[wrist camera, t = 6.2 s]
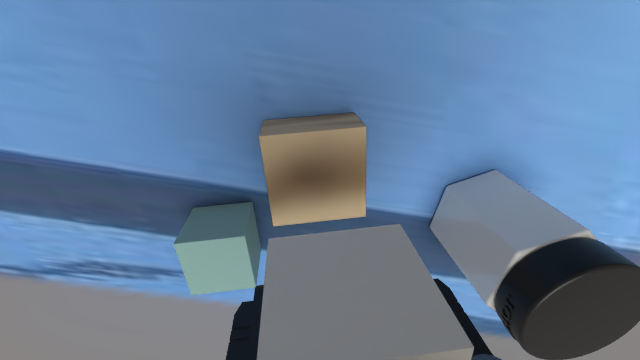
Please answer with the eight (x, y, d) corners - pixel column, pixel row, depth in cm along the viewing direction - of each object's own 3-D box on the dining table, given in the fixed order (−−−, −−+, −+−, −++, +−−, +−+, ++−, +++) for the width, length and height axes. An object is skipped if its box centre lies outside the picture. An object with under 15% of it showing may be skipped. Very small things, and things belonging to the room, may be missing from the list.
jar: (411, 215, 28) (489, 328, 17) (481, 152, 26) (621, 237, 15) (466, 259, 31) (560, 378, 20) (532, 207, 29) (678, 309, 18)
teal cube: (193, 207, 25) (173, 244, 21) (252, 201, 26) (244, 236, 21) (207, 253, 27) (191, 295, 23) (261, 247, 28) (255, 287, 23)
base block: (263, 120, 22) (258, 136, 19) (354, 112, 23) (366, 126, 19) (275, 199, 26) (273, 226, 22) (354, 191, 26) (365, 216, 22)
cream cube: (268, 238, 11) (254, 378, 6) (399, 224, 11) (473, 347, 7) (284, 329, 13) (282, 480, 9) (393, 315, 13) (447, 453, 9)
